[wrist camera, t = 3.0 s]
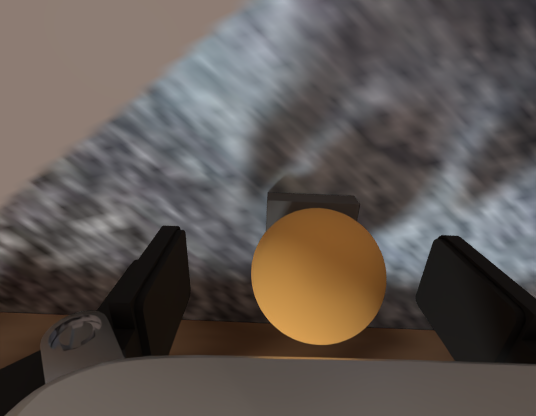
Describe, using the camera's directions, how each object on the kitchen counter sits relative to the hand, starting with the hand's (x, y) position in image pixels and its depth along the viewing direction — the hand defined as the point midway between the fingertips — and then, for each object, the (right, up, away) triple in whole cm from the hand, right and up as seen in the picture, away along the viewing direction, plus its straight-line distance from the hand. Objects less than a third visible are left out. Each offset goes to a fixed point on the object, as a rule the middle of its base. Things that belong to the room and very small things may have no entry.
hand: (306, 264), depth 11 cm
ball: (0, 0, 0) cm, 1 cm away
